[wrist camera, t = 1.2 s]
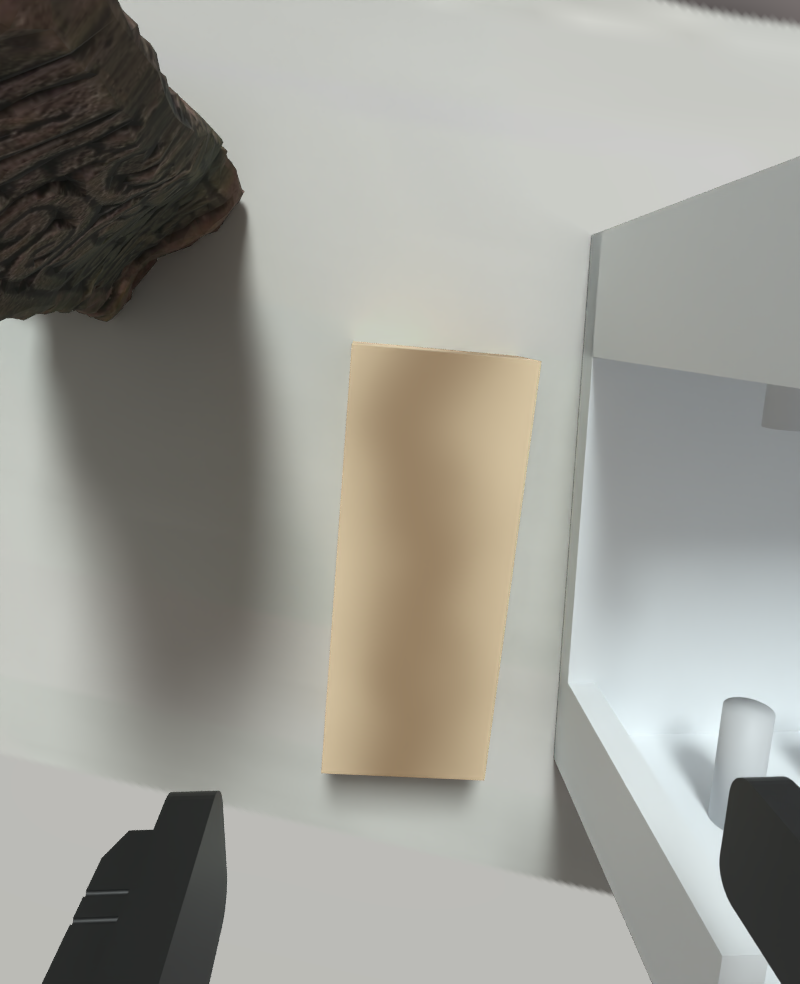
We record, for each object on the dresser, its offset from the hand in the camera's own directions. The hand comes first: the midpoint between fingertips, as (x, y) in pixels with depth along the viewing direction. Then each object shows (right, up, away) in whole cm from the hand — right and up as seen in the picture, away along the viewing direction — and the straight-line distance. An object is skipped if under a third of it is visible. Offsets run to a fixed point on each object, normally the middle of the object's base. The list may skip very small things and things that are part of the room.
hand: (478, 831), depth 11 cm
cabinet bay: (+11, +4, +14) cm, 18 cm away
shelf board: (-1, +3, +14) cm, 14 cm away
